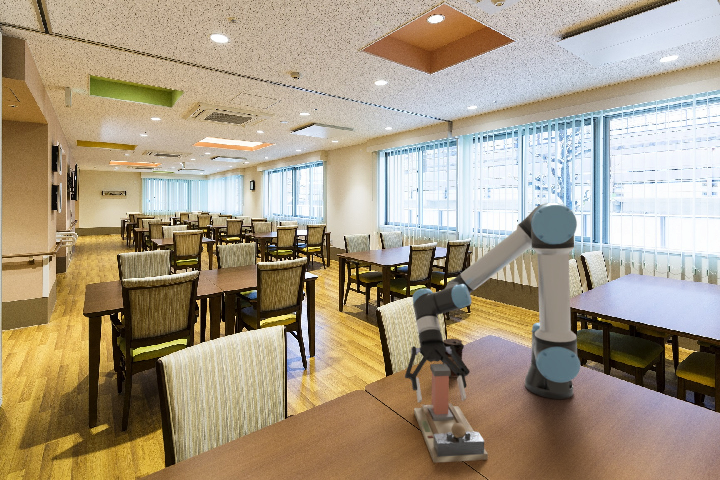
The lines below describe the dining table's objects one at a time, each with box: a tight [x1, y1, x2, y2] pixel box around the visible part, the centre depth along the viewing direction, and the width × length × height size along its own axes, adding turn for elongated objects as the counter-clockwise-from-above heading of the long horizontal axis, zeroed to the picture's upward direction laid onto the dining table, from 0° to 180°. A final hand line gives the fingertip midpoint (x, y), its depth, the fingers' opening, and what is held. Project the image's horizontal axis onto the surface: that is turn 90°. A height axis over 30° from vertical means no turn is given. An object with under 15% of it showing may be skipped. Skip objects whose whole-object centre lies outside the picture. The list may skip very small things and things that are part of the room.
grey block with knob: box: [433, 431, 485, 457], centre depth 98 cm, size 12×4×5 cm, turn 94°
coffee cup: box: [442, 338, 465, 378], centre depth 144 cm, size 9×8×13 cm
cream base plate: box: [413, 402, 489, 463], centre depth 107 cm, size 14×23×3 cm, turn 4°
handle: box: [424, 363, 453, 421], centre depth 114 cm, size 8×7×15 cm
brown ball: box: [451, 423, 466, 438], centre depth 97 cm, size 4×4×4 cm
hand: (442, 400), depth 112 cm, fingers open, 12 cm apart
